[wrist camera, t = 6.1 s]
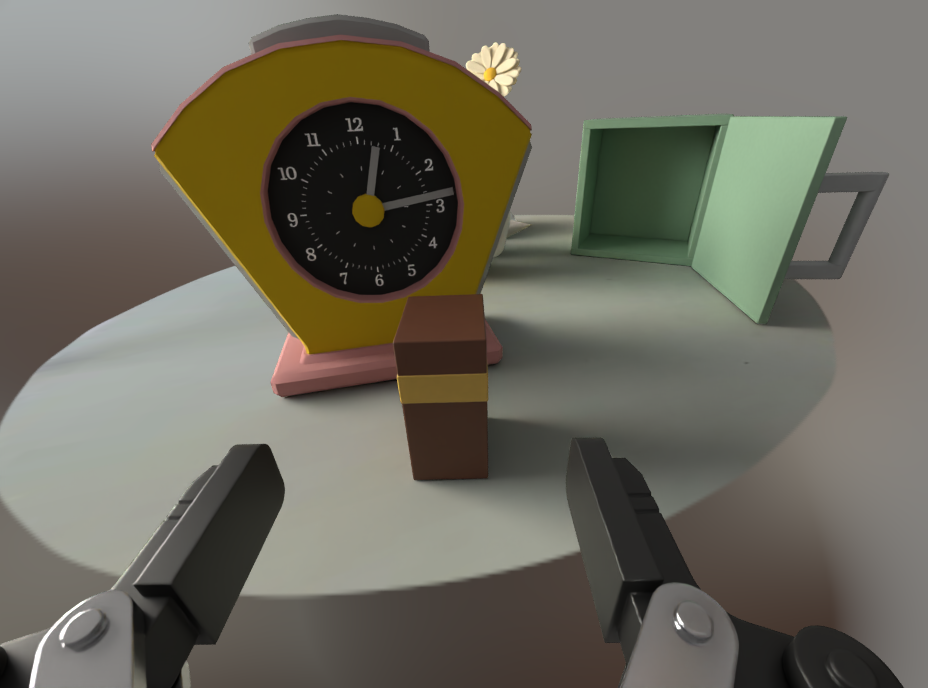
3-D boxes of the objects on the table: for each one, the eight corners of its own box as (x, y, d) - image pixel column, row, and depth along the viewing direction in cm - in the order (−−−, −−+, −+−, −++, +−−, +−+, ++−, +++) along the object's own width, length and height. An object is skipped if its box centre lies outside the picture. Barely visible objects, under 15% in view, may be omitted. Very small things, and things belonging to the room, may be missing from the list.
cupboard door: (744, 267, 46) (795, 113, 38) (832, 325, 33) (935, 112, 25) (690, 267, 46) (730, 116, 39) (756, 324, 34) (835, 117, 26)
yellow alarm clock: (233, 408, 27) (57, -3, 16) (264, 343, 35) (159, 39, 24) (536, 360, 30) (558, -1, 20) (501, 311, 38) (503, 35, 28)
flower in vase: (433, 232, 66) (419, 48, 53) (480, 220, 72) (478, 53, 60) (489, 247, 57) (490, 32, 45) (537, 231, 64) (549, 41, 51)
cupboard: (694, 266, 47) (734, 114, 39) (570, 254, 53) (583, 120, 45) (693, 246, 54) (727, 113, 46) (584, 237, 60) (598, 118, 52)
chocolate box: (489, 479, 21) (487, 340, 16) (412, 481, 21) (390, 343, 16) (485, 416, 25) (483, 292, 21) (422, 417, 25) (407, 295, 21)
